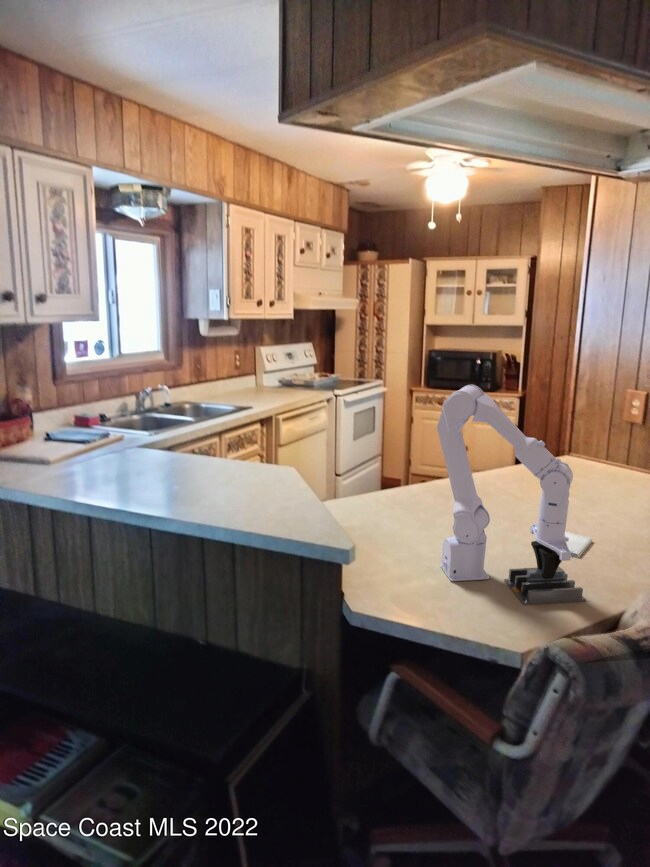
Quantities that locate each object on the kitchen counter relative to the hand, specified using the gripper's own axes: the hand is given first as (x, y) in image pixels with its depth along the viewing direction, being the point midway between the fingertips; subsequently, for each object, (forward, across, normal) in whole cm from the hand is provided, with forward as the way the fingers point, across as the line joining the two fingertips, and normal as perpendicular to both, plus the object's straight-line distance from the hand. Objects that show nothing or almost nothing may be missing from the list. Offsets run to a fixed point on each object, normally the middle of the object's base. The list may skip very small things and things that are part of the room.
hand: (545, 575), depth 135 cm
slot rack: (+4, 0, 0) cm, 4 cm away
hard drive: (+4, +22, -18) cm, 29 cm away
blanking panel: (+3, 0, 0) cm, 3 cm away
